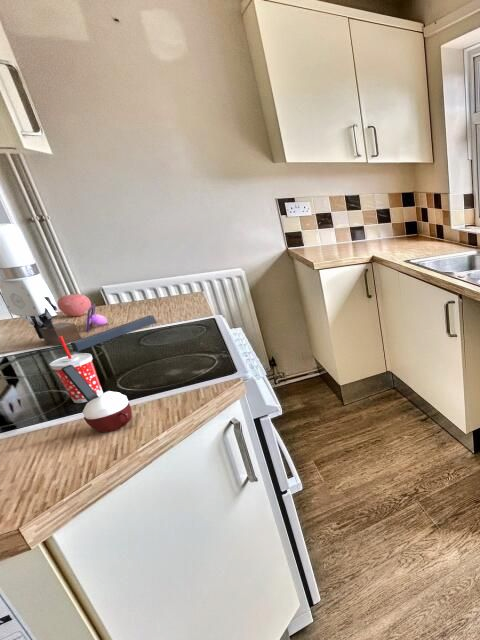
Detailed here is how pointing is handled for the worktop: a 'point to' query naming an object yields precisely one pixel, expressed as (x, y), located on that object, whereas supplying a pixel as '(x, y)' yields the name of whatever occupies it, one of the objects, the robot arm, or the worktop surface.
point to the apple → (74, 304)
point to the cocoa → (101, 404)
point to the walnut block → (60, 333)
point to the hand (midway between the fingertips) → (48, 336)
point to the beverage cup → (82, 366)
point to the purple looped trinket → (94, 318)
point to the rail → (112, 333)
